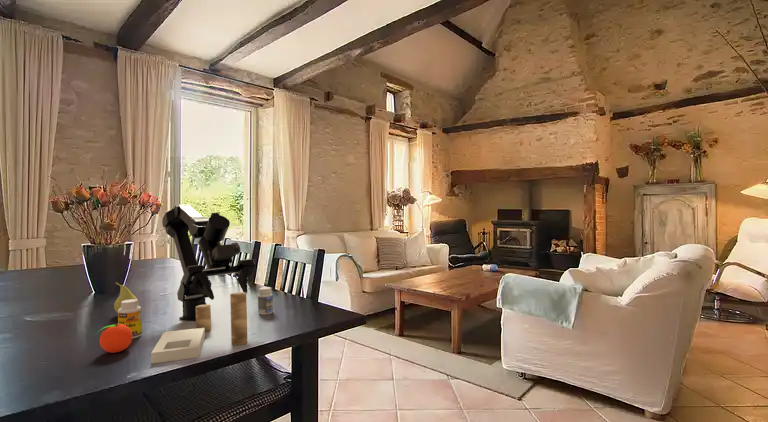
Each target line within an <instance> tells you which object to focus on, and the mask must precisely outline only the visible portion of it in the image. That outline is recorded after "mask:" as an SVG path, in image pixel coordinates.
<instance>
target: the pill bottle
mask: <svg viewBox="0 0 768 422" xmlns="http://www.w3.org/2000/svg"><path fill="white" fill-rule="evenodd" d="M258 293H259V294H258V295H257V308H258V309H257V311H258V312H257V313H258V315H271V314H272V313H273V312H274V305H273V303H274V300H273V298H274V297H273V293H272V287H270V286H264V287H259V289H258Z"/></svg>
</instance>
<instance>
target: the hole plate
mask: <svg viewBox="0 0 768 422" xmlns="http://www.w3.org/2000/svg"><path fill="white" fill-rule="evenodd" d="M205 337H206V332H205V328H196V327H195V328H189V329H179V330H170V331H164V332H163V333H162V335H161V337H160V338H159V340H158V341H157V343H156V344H155V346H154V348H153V349H152V351H151V353H150V354H151V355H150V357H151V364H158V363H165V362H174V361H182V360H189V359H196V358H199V357H200V355H201V351H202V348H203V344H204V341H205Z"/></svg>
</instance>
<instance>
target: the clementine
mask: <svg viewBox="0 0 768 422" xmlns="http://www.w3.org/2000/svg"><path fill="white" fill-rule="evenodd" d="M103 329H104V330H103ZM101 330H103V331H102V332H101V334H100V335H99V344H100V347H101V348H102V350H104V351H105V352H108V353H111V354H113V353H115V354H116V352H117V353H120V352H122V351H124V350H126V349H127V348H128V347H129V346H130V345H131V343H132V341H133V339H132V336H133V335H132V331H131V329H130V328H129V327H128V326H126V325H123V324H118V323H115V324H109V325H106V326H104V327H102V328H101V329H99V330H98V331H97V333H96V334H95V336H94V337H96V335H97V334H98V333H99V331H101Z"/></svg>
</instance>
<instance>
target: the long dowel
mask: <svg viewBox="0 0 768 422" xmlns="http://www.w3.org/2000/svg"><path fill="white" fill-rule="evenodd" d="M229 296H230V299H229V300H230V301H229V302H230V303H229V304H230V334H231V335H230V336H231V337H230V338H231V340H230V342H231V345H232V346H242V345H246V344H247V343H248V342H249V341H248V309H247V308H248V306H247V304H248V303H247V293H245V292H243V291H239V292H233V293H230V295H229Z"/></svg>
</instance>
